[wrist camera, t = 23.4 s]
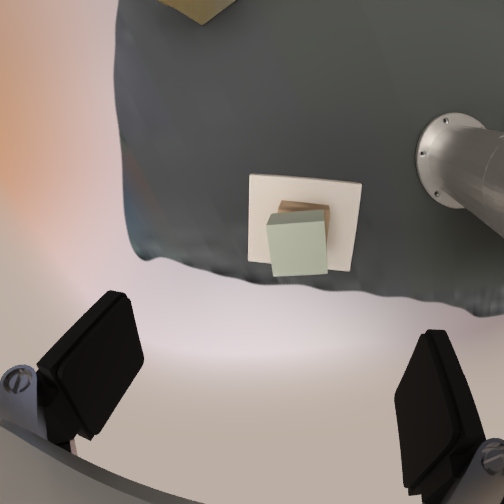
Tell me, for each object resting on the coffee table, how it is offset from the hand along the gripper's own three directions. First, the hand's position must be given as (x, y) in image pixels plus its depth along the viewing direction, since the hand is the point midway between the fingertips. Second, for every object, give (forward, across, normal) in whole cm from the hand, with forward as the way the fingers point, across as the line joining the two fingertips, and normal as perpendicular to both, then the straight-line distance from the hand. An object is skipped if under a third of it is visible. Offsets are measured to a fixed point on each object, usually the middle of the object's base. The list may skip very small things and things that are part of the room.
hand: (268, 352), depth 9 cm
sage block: (+27, 0, +7) cm, 28 cm away
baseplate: (+32, 0, +7) cm, 33 cm away
